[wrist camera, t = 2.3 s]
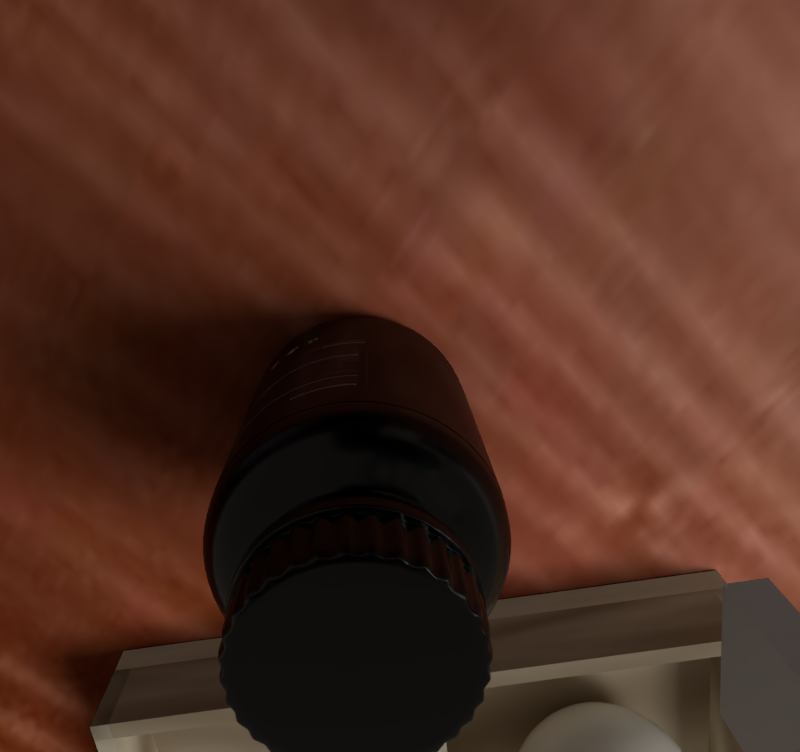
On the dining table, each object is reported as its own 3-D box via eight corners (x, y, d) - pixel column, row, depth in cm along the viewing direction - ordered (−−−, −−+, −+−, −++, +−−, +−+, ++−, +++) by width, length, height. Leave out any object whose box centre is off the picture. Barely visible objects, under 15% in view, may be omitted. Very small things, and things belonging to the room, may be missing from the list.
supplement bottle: (504, 432, 24) (625, 709, 13) (338, 537, 25) (317, 877, 14) (385, 265, 22) (408, 422, 11) (210, 387, 23) (66, 645, 12)
